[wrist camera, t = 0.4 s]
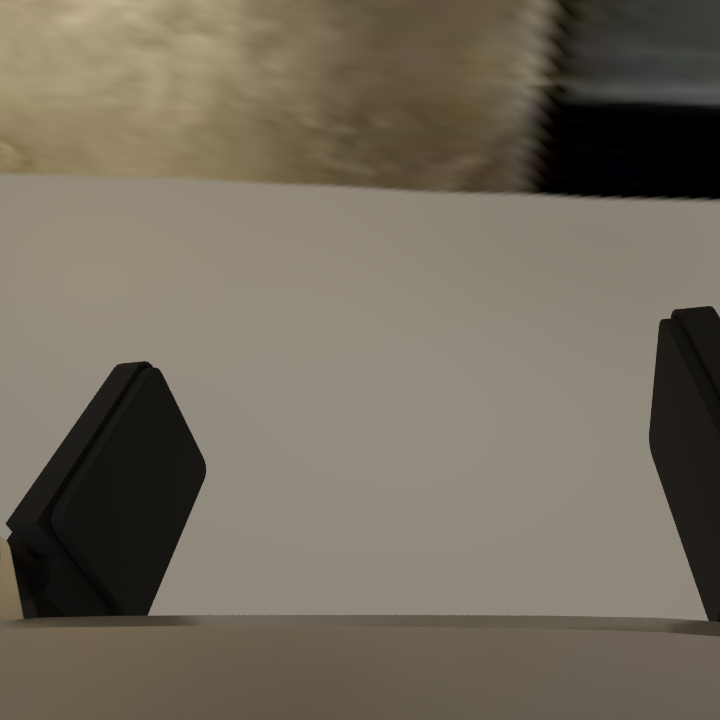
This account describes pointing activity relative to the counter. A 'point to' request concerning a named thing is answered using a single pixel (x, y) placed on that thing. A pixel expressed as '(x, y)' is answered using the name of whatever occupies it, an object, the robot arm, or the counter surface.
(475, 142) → the counter surface
